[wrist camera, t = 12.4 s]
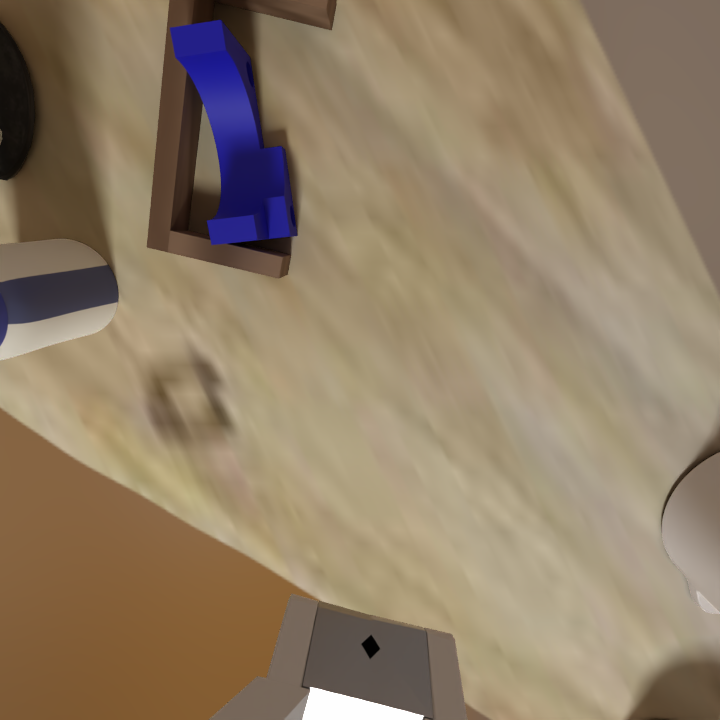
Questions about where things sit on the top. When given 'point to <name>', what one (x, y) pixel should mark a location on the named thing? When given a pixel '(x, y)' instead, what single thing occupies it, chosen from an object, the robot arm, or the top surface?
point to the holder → (14, 107)
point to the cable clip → (236, 137)
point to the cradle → (181, 133)
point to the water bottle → (52, 294)
